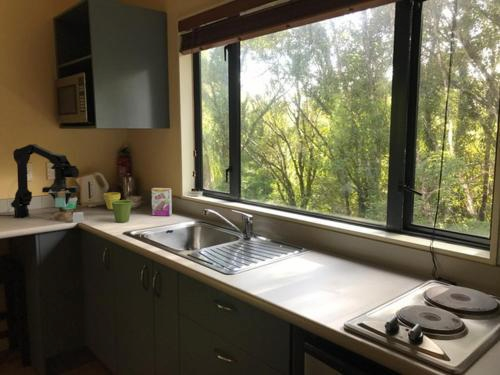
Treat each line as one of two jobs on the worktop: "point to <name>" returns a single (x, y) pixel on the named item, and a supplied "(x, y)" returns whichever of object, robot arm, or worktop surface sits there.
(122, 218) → the plant pot
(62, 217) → the walnut block
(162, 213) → the candy bar box
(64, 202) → the teal cube
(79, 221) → the grey cube
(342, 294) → the worktop surface
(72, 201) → the food container
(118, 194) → the plant pot
